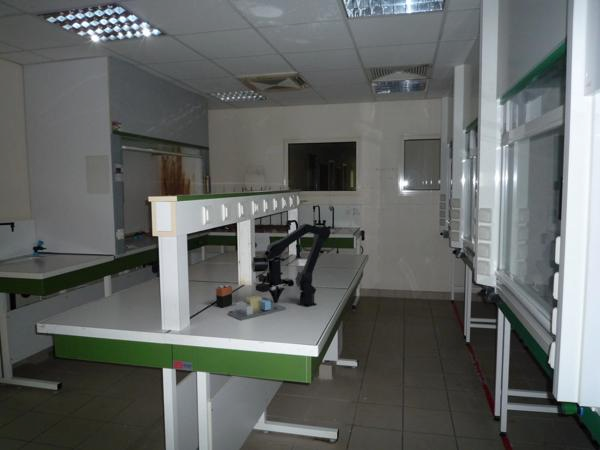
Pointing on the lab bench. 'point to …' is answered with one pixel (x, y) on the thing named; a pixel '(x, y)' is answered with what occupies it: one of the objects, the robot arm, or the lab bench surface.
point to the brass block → (255, 302)
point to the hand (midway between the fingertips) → (275, 303)
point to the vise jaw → (266, 303)
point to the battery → (224, 296)
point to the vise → (246, 311)
